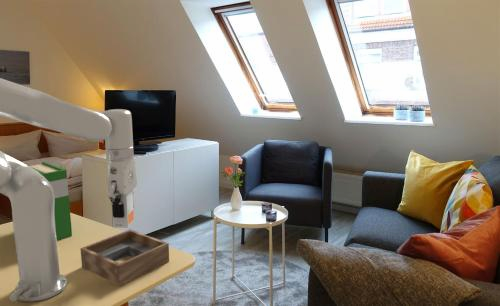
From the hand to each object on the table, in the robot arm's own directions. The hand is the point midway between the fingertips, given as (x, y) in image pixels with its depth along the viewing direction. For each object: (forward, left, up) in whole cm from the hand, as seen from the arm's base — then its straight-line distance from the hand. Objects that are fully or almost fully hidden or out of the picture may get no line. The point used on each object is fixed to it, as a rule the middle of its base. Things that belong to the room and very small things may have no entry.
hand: (123, 212), depth 120 cm
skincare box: (0, 0, -4) cm, 4 cm away
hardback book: (+20, +36, -17) cm, 45 cm away
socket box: (0, 0, -17) cm, 17 cm away
